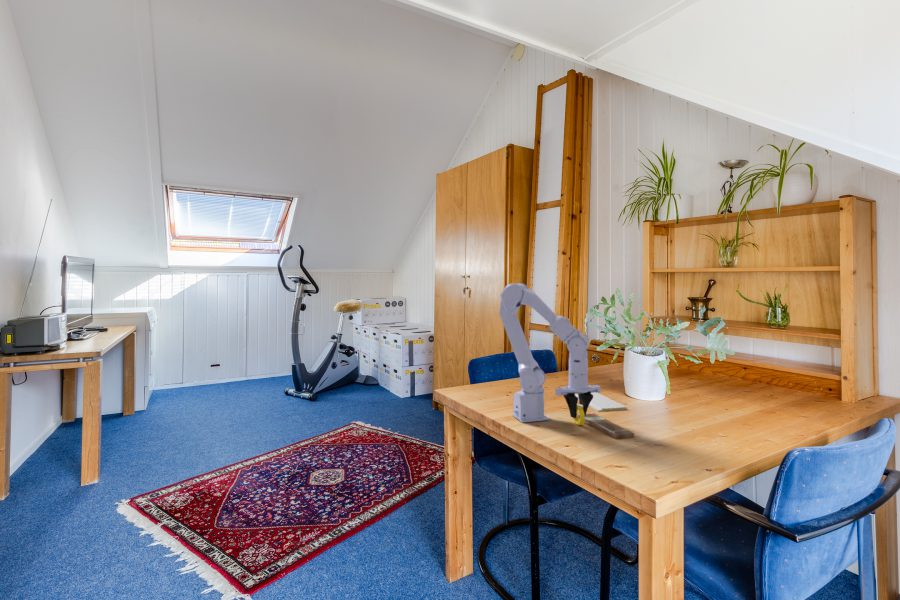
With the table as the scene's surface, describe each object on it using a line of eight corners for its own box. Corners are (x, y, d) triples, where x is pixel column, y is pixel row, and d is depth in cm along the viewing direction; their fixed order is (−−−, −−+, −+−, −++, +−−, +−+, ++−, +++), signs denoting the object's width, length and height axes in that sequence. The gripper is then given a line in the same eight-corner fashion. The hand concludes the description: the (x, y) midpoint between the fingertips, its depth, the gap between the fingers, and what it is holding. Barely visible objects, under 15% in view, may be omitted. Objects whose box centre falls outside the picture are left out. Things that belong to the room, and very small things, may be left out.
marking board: (615, 438, 127) (615, 435, 127) (577, 417, 146) (577, 414, 146) (634, 436, 128) (634, 433, 128) (594, 416, 148) (594, 413, 148)
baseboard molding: (594, 413, 153) (626, 411, 155) (594, 404, 153) (626, 403, 155) (557, 391, 183) (584, 389, 186) (557, 384, 183) (584, 382, 185)
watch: (570, 422, 143) (570, 403, 143) (579, 421, 143) (578, 402, 143) (578, 427, 137) (577, 407, 137) (587, 426, 137) (586, 406, 137)
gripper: (563, 377, 134) (563, 422, 135) (606, 374, 138) (606, 418, 138) (552, 372, 141) (552, 415, 141) (593, 370, 145) (593, 412, 145)
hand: (577, 416), depth 140 cm, fingers closed on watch, 3 cm apart
